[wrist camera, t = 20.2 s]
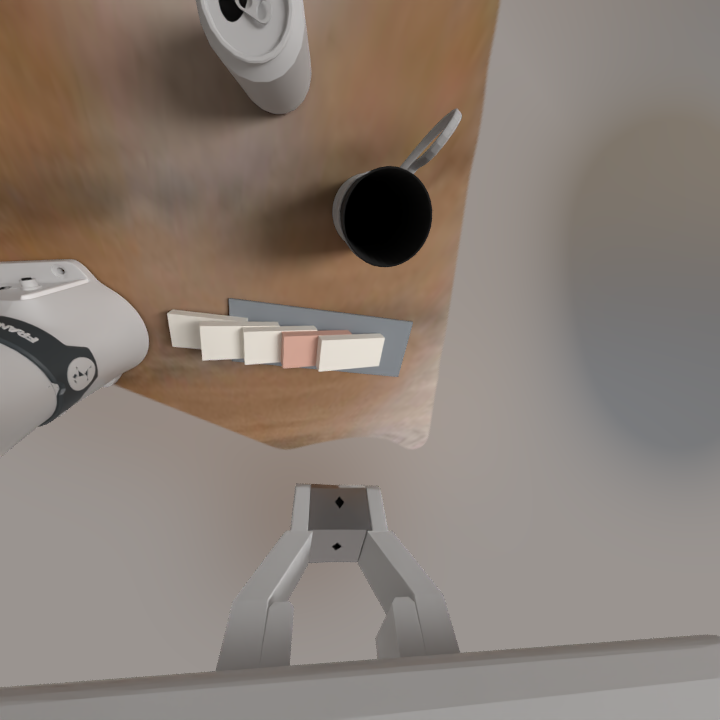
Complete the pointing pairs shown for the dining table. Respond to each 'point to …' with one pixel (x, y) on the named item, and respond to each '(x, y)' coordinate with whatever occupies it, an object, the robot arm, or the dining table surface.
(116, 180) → the dining table surface
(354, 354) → the domino
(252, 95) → the can
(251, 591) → the robot arm
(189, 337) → the domino
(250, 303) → the mat
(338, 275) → the dining table surface
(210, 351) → the domino
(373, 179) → the grey mug
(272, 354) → the domino
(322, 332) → the domino
